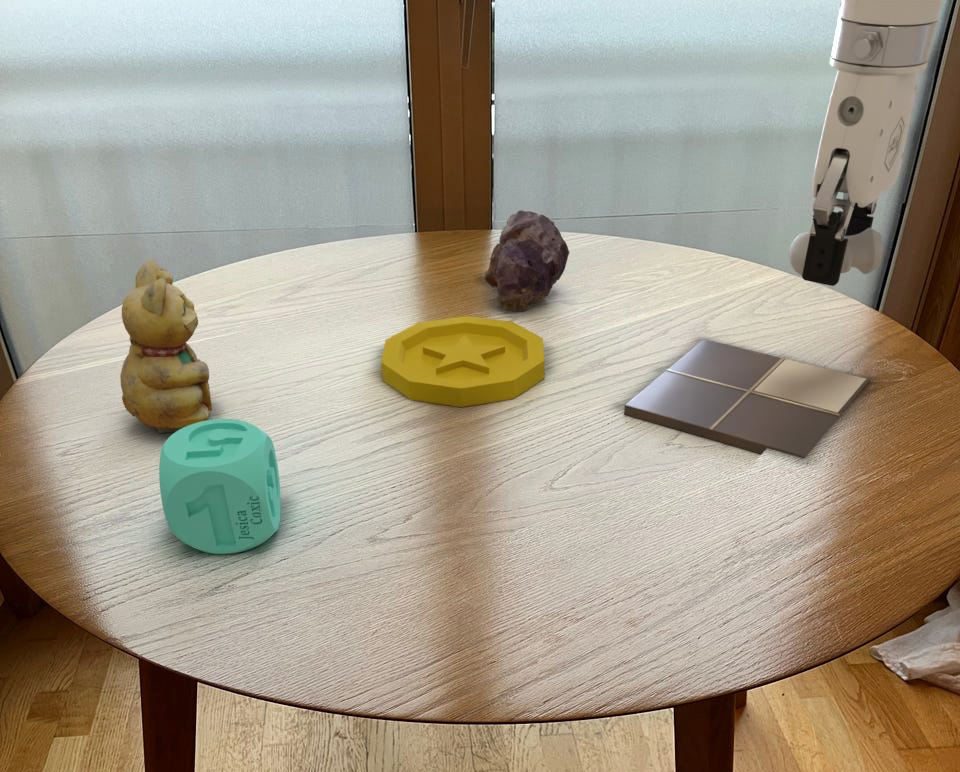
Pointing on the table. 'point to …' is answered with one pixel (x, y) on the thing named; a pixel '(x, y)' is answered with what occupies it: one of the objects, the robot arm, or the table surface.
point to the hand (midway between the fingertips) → (833, 268)
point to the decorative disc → (463, 361)
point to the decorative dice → (220, 486)
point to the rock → (526, 260)
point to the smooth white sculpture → (859, 251)
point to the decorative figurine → (162, 355)
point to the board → (747, 399)
